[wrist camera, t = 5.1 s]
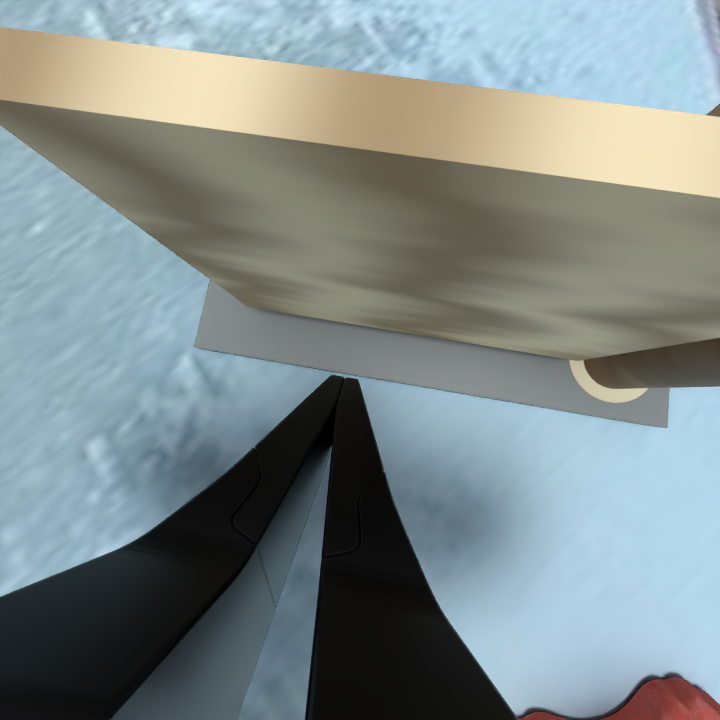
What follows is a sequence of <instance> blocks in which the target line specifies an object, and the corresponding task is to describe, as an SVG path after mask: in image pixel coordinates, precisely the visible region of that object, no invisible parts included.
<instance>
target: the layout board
mask: <svg viewBox="0 0 720 720" xmlns="http://www.w3.org/2000/svg"><path fill="white" fill-rule="evenodd" d="M194 347H196V348H199V349H205V350H210V351H216V352H222V353H228V354H234V355H240V356H245V357H251V358H257V359H263V360H269V361H275V362H281V363H286V364H292V365H298V366H304V367H310V368H316V369H321V370H327V371H333V372H339V373H345V374H351V375H356V376H362V377H368V378H374V379H380V380H386V381H392V382H397V383H403V384H409V385H415V386H421V387H427V388H432V389H438V390H444V391H450V392H456V393H462V394H467V395H473V396H479V397H485V398H491V399H497V400H503V401H508V402H514V403H520V404H526V405H532V406H538V407H543V408H549V409H555V410H561V411H567V412H573V413H578V414H584V415H590V416H596V417H602V418H608V419H614V420H619V421H625V422H631V423H637V424H643V425H649V426H654V427H663V428H667V424H668V406H669V388H633V389H610V388H606V387H603V386H601V385H599V384H598V383H596V382H595V381H594V380H593V379H592V378H591V377H590V376H589V374H588V373H587V371H586V369H585V366H584V361H583V360H580V361H575V360H569V359H563V358H557V357H551V356H545V355H539V354H533V353H526V352H520V351H514V350H508V349H502V348H496V347H490V346H484V345H477V344H471V343H465V342H459V341H453V340H447V339H441V338H435V337H429V336H422V335H416V334H410V333H404V332H398V331H392V330H386V329H380V328H373V327H367V326H361V325H355V324H349V323H343V322H337V321H331V320H324V319H318V318H312V317H306V316H300V315H294V314H288V313H282V312H276V311H269V310H263V309H257V308H251V307H247V306H246V305H244V304H243V303H242V302H240V301H239V300H237V299H236V298H235V297H233V296H232V295H231V294H229V293H228V292H227V291H225V290H224V289H223V288H221V287H220V286H218V285H217V284H216V283H214V282H213V281H212V280H210V281H209V285H208V290H207V294H206V298H205V302H204V306H203V311H202V315H201V319H200V323H199V327H198V332H197V336H196V340H195V344H194Z"/></svg>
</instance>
